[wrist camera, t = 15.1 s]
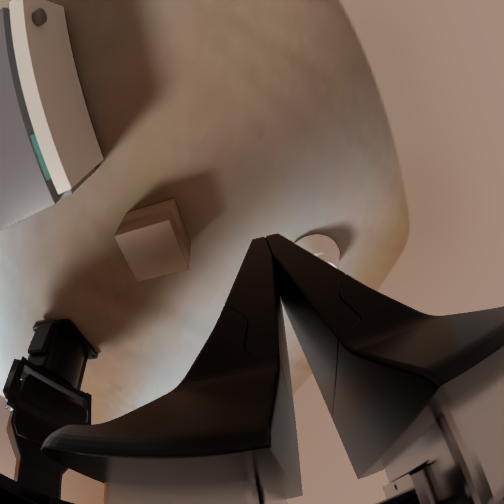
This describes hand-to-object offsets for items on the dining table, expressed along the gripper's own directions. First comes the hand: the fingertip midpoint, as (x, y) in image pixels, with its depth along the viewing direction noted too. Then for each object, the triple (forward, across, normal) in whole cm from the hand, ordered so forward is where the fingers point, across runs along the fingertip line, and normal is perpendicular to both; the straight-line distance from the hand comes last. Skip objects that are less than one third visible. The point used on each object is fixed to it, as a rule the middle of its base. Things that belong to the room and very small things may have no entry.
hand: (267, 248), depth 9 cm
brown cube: (+12, +7, +4) cm, 14 cm away
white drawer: (+12, +15, -9) cm, 21 cm away
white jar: (+12, -4, +10) cm, 17 cm away
